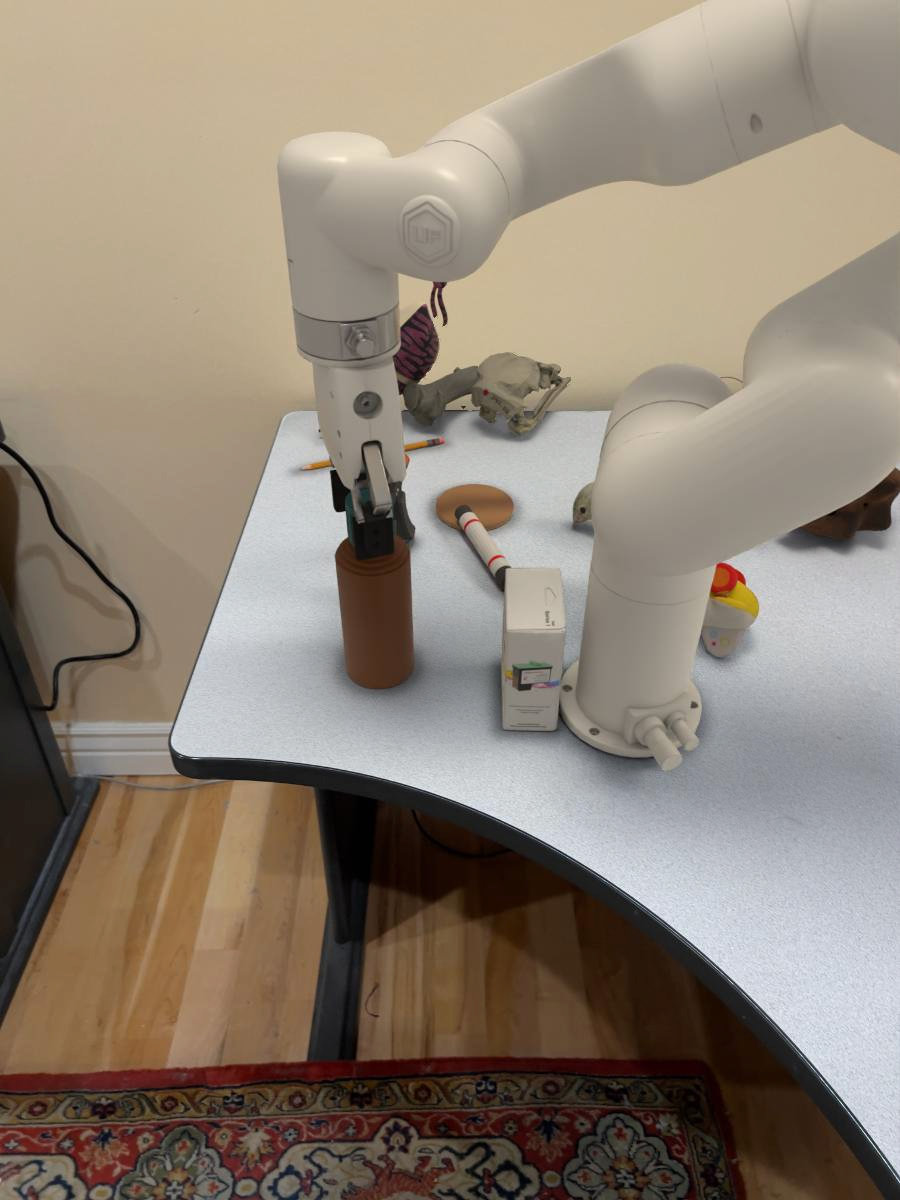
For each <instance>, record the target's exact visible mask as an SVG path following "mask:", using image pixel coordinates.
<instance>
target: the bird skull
mask: <svg viewBox="0 0 900 1200" xmlns="http://www.w3.org/2000/svg"><path fill="white" fill-rule="evenodd" d="M513 353H514V352H513ZM513 353H512V352H509V351H506V352H500V353H499V352H498V353H495V354H491V355H489V356H488V357H486V358H485V359H484V360H483V361H482V362H481V363H480V364H478V365H479V367H478V368H477V372H476V373H477V383H476V384H475V385H474V386H473V387H472V394H471V397H470V401H471V404H472V405H473V406H474V407H475V408H479V407H480V408H479V412H478V416H479V417H480V418H481V419H483V420H484V421H485V422H487V423H488V424H493V425H494V424H496V423H497V419H496V418H497V416H498V414H499V415H501V416H502V417H503V418H504V419H505V420H506V421H509V422H508V429H509V431H510V432H511V434H514V435H517V436H519V437H522V436H523V435H524V434H527V433H528V432H530V431H532V430H533V429H534V428H535V427H536V426H538V425H539V424H541V422H542V420H543V418H544V417H545V415H546V412H547V411H548V410H549V407H550V406H551V405H552V404H553V403H554V401H555V400H556V398H557V397H558V396H559V395H560V394H561V393H562V392H563V391H564V390H565V389H566V388H567V387H568V386H570V385H571V384H569V385H568V386H567V384H568V383H569V382H570V381H571V377H567V378H562V377H560V376H558V374H559V373H560V371H561V367H560V366H559V365H557V364H555V363H544V362H541V361H537V360H535V359H533V358H530V357H528V356H522V355H519V356H517V355H518V354H517V355H515V354H513ZM552 385H555V386H554V387H553V388H552ZM546 389H548V390H546ZM540 390H546V391H545V393H544V394H543V396H542V397H541V398H540V400H539V402H538V403H537V405H536V406H535V408H534V409H533V411H532V415H531V416H529V417H527V418H526V417H525V415H524V412H525V411H524V410H525V409H527V408H528V405H526V404H525V400H524V398H526V397H527V396H528V395H529V394H531V393H532V392H536V393H539V392H540ZM514 415H515V418H513V416H514Z"/></svg>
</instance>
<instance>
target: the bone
mask: <svg viewBox="0 0 900 1200" xmlns="http://www.w3.org/2000/svg"><path fill="white" fill-rule="evenodd" d="M477 368H478V366H476V365H471V366H468V367H464V368H460V367H459V366H456V367H455V368H454V369H453V371H452V372H451V373H449V374H446V375H444V376H443V377H440V378H439V379H437V380H435V381H433V382H430V383H425V384H420V383H409V384H407V385H406V386H405V387H404V389H403V393H402V397H403V401H404V406H405V409H407V410H408V412H409V414H410V415H411V416H412V417H413V418H414V420H415V422H416V423H418V424H420V425H422V426H425V427H433V426H434V421H435V420H436V419H441V418H442V417H443V416H444V414H445V413H446V412H445V411H446V408H447V405H448V404H450V403H452V402H454V401H457V400H458V399H460V398H462V397H466V396H468V395H472V387H473V386H474V385H475V384H476V383H477V373H476V372H477Z"/></svg>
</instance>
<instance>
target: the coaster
mask: <svg viewBox="0 0 900 1200" xmlns="http://www.w3.org/2000/svg"><path fill="white" fill-rule="evenodd" d="M461 505H468V506H469V507H470V508H471V510H472V511H473V513H474V514H475V515H476V517H477V518H478V519H479V521H480V522H481V524H482V525H483V527H484V528H485V530H486V531H487V532H488V531H490V530H491V531H492V530H495V529H497V528H500V527H502V526H503V525H505V524H507V523H508V522H509V521H510V520H511V519H512V517H513V515H514V510H515V503H514V500H513V499H512V497H511V496H510V495H509V494H508V493H507V492H505V491H503V490H502V489H500V488H497V487H495V486H493V485H492V486H491V485H488V484H483V483H468V484H462V485H461V484H460V485H456V486H454V487H451V488H448V489H447V490H445V491H443V492H442V493H441V494H439V496H438V497H437V499H436V502H435V513H436V516H437V518H439V520H440V521H441V522H443V523H444V524H445V525H446V526H448V527H451V528H453V529H455V530H460V531H464V530H463V528H462V527H461V525H460V523H459V521H458V520H457V518H456V517H455V510H456V509H457V508H458V507H459V506H461Z"/></svg>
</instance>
